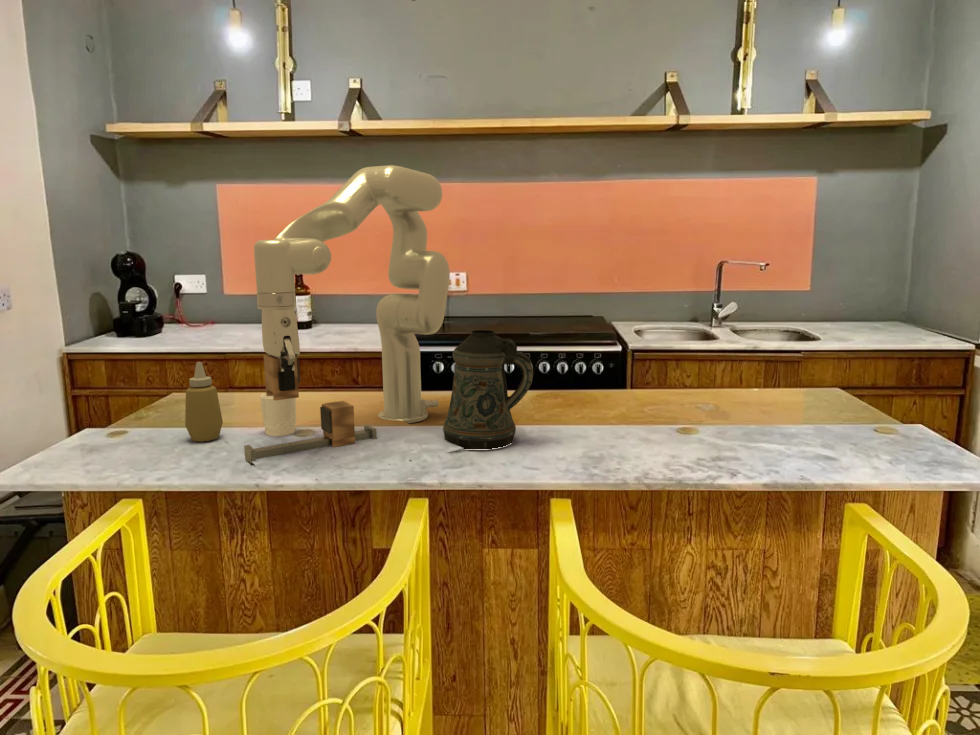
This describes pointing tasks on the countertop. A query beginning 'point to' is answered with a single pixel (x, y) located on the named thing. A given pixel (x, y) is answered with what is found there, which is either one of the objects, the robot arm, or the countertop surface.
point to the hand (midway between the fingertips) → (282, 386)
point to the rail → (301, 445)
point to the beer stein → (484, 392)
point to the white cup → (278, 415)
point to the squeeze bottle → (202, 407)
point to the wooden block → (338, 422)
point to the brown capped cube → (273, 382)
